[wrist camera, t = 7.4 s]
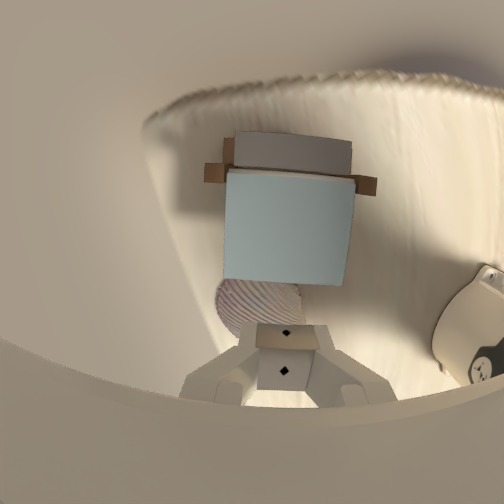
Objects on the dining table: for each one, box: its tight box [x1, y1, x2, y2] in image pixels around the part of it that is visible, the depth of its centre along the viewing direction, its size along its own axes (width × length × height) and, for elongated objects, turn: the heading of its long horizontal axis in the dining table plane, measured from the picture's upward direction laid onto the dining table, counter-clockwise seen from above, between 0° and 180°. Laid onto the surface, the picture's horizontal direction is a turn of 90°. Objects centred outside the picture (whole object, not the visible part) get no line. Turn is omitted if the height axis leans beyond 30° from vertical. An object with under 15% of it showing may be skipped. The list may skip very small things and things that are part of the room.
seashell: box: [217, 279, 306, 338], centre depth 30 cm, size 10×6×10 cm
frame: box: [204, 138, 377, 196], centre depth 22 cm, size 13×4×8 cm, turn 87°
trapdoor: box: [223, 131, 356, 286], centre depth 22 cm, size 9×11×5 cm
